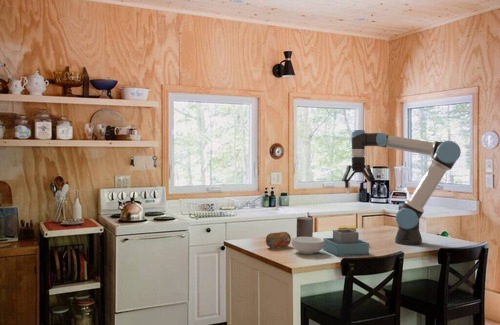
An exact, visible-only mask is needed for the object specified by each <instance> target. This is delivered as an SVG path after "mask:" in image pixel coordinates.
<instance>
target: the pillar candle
mask: <svg viewBox="0 0 500 325" xmlns="http://www.w3.org/2000/svg"><path fill="white" fill-rule="evenodd" d="M313 226H314V217H313V218H312V217H309V216H300V217H299V216H298V217H296V237H314V236H313V233H314V232H313V230H314V227H313Z"/></svg>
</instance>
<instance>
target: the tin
mask: <svg viewBox="0 0 500 325" xmlns="http://www.w3.org/2000/svg"><path fill="white" fill-rule="evenodd" d="M291 242H292V237H291V235H290V234H289V233H288V232H286V231H279V232H270V233H268V234H267V235H266V237H265V244H266V246H267V247H269V248H270V249H279V248H281V249H282V248H285V247H288V246H289V245H290V244H291Z"/></svg>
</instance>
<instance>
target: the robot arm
mask: <svg viewBox="0 0 500 325" xmlns="http://www.w3.org/2000/svg"><path fill="white" fill-rule="evenodd" d="M366 147H380V148H387V149H390V150H398V151H403V152H409V153H413V154H414V153H415V154H420V155H425V156H430V157H431V158H430V159H431V160H430V161H431V163H430V165H429V166H428V168H427V170H426V172H425V173H424V175H423V177H422V178H421V180H420V181H419V183H418V184H417V186H416V188H415V189H414V191H413V193H412V195H411V196H410V197H409V199H406V200H404V202H402V203H401V202H400V203H399V204H398V207H397V208H398V211H396V213H395V222H396V224H397V226H398V229H397V232H396V234H395V238H394V242H395V243H397V244H399V245H407V246H410V245H411V246H417V245H418V246H419V245H422V244H423V238H422V234H421V232H420V219H421V217H422V215H423V214H424V213H425V211H424V207H425V206H426V204H427V202H429V201H428V200H429V199H430V197H432V194H433V193H434V192H435V190H436V188H437V186H438V185H439V183H440V181H441V180H442V179H443V177H444V176H445V174H446V172H447V171H451V170H452V168H453V167H454V165H455V164H456V162H457V161H458V160H459V158H460V157H461V153H462V152H461V151H462V150H461V147H460V145H459V144H458V143H457V142H455V141H452V140H445V141H438V140H435V141H433V142H432V141H426V140H419V139H413V138H407V137H400V136H395V135H390V134H386V132H371V133H370V132H368V133H367V132H366V131H365V129H354V130H352V131H351V156H352V157H351V164H350V165H349V164H346V169H345V171H344V174H343V176H342V179H341V181H342V182H344V185H345V186H344V188H345V189H346V194H348V195H349V194H351V183H350V181H351V179H352V178H353V176H354V175H355V174H358V173H359V174H363V176H364V177H365V179H366V180H367V181H366V193H368V194H371V188H372V186H373V184H372V182H374V181H375V180H376V178H375V176H374V174H373V172H372V169H371V165H370V164H365V163H366V157H365V156H366Z"/></svg>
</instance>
